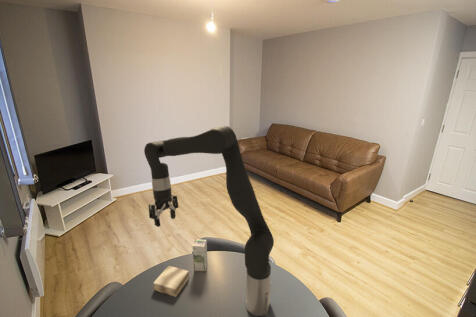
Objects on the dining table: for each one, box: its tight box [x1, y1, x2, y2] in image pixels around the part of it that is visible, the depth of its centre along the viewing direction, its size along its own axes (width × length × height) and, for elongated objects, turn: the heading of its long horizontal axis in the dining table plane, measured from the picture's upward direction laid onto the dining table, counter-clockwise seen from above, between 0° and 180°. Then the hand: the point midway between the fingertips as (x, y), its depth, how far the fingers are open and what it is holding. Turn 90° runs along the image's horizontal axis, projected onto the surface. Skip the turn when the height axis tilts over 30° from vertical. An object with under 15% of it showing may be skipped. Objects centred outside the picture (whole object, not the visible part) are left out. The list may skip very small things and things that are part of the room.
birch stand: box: [153, 265, 190, 298], centre depth 104 cm, size 11×11×4 cm
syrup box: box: [192, 238, 208, 272], centre depth 112 cm, size 6×6×14 cm
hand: (165, 222), depth 102 cm, fingers open, 8 cm apart
